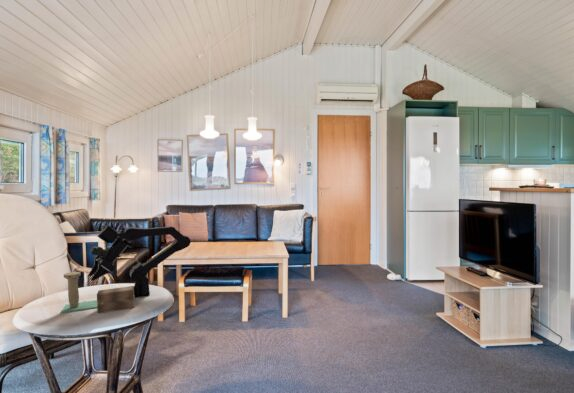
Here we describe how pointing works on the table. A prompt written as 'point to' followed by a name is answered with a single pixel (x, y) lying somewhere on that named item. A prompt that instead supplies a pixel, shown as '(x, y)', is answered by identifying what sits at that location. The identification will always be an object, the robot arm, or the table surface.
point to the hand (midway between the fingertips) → (90, 277)
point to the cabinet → (115, 299)
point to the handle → (73, 288)
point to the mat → (80, 306)
